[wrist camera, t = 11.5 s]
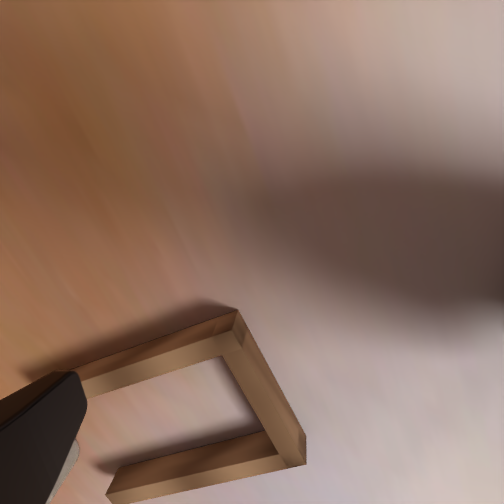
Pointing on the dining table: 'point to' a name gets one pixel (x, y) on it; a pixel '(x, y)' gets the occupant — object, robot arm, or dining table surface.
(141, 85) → the dining table surface
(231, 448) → the tan u-shaped frame
